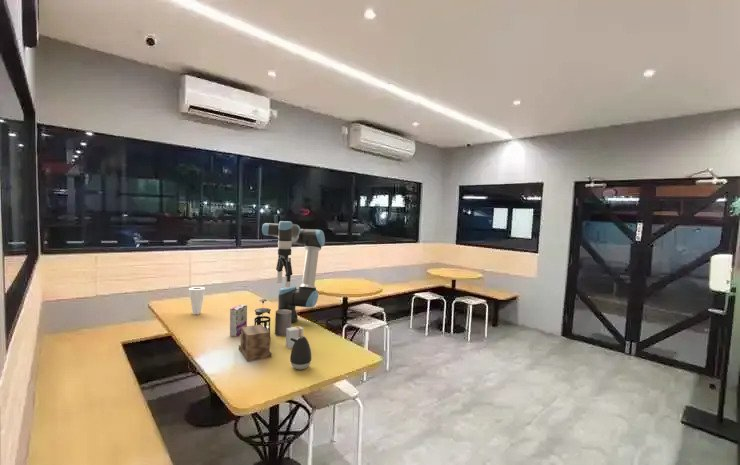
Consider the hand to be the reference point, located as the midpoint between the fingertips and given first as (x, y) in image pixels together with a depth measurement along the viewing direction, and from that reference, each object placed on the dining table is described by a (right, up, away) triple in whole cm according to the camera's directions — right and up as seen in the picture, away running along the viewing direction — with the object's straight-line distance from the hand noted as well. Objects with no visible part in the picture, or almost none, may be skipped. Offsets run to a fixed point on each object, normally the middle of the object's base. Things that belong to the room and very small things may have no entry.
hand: (283, 284), depth 203 cm
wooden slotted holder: (-10, -33, -17) cm, 39 cm away
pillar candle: (-4, -32, +14) cm, 35 cm away
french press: (-14, -32, +4) cm, 35 cm away
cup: (-73, -27, +47) cm, 91 cm away
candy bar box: (-30, -31, +10) cm, 44 cm away
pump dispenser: (+16, -35, -32) cm, 50 cm away
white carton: (+7, -33, -6) cm, 35 cm away
